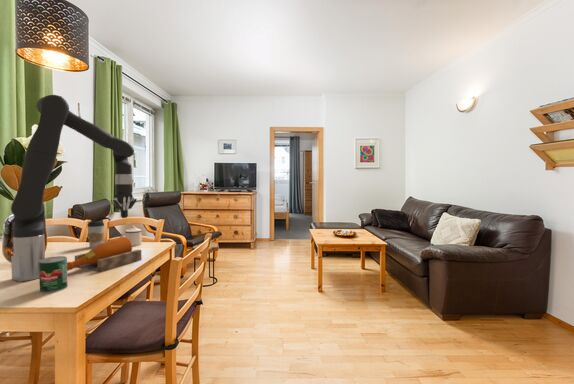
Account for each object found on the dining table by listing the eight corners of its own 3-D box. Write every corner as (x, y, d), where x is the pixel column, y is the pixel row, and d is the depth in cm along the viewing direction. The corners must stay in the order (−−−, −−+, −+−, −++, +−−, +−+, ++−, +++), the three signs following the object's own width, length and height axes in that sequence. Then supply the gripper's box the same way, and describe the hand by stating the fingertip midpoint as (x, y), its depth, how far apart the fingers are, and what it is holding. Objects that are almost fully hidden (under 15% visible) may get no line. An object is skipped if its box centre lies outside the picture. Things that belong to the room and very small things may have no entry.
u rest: (101, 271, 119) (101, 260, 119) (74, 266, 126) (74, 255, 126) (141, 259, 138) (141, 250, 138) (116, 255, 145) (116, 246, 145)
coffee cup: (85, 248, 158) (84, 223, 158) (91, 245, 166) (90, 221, 166) (101, 248, 160) (101, 222, 160) (106, 244, 168) (106, 220, 168)
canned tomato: (66, 283, 106) (65, 255, 106) (69, 288, 101) (68, 259, 100) (38, 288, 101) (37, 259, 100) (40, 295, 95) (39, 263, 95)
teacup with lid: (144, 243, 174) (144, 224, 174) (138, 246, 165) (138, 227, 165) (123, 243, 173) (123, 225, 172) (117, 246, 164) (116, 227, 163)
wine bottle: (135, 253, 138) (68, 280, 111) (123, 255, 142) (56, 281, 115) (130, 234, 137) (61, 257, 110) (117, 237, 141) (49, 259, 114)
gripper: (116, 183, 130) (116, 219, 131) (140, 183, 143) (141, 216, 143) (105, 183, 133) (106, 218, 134) (130, 183, 145) (131, 215, 146)
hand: (124, 217), depth 139 cm, fingers closed
